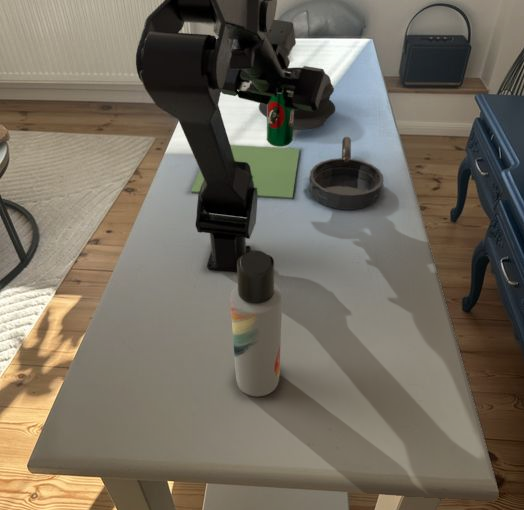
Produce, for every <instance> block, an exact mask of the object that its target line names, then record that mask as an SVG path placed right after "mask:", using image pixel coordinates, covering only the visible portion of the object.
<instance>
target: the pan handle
mask: <svg viewBox="0 0 524 510" xmlns="http://www.w3.org/2000/svg"><path fill="white" fill-rule="evenodd" d="M341 158H343V159H345V160H344V161H343V164H344V165H345V166H347V165H349V163H350V162H349V159H352V140H351V138H350V137H349V136H345V137H343V138H342V143H341Z"/></svg>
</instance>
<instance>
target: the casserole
mask: <svg viewBox="0 0 524 510" xmlns="http://www.w3.org/2000/svg"><path fill="white" fill-rule="evenodd" d="M301 68H302V67H288V69H285V70H284V71H287V72H291V73H292V72H293V71H294V70H300V71H301ZM325 74H326V77H327V82H326V85H325V88H324V91H323V94H322V97H321V100H320V103H319V106H318V109H317V110H315V111H314V112H312V111H307V110H302V109H298V110H297V111H294V125H293V131H309V130H315V129H319V128H321V127H323V126H325V124H326V122H327V120H328V119H329V118H331V116H333V115H334V114H335V112H336V106H335V104H334V102H333V101H332V100H331V96H332V95H333V93H334V92H335V88H334V86H333V84H332V81H331V77H330V76H329V75H328V74H327V73H325ZM258 104H259V105H258V111H259V112H260V113H261V114H262V115H263V116H264V117H265V118H267V105H265V104H261V103H258Z"/></svg>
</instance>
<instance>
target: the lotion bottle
mask: <svg viewBox="0 0 524 510" xmlns="http://www.w3.org/2000/svg"><path fill="white" fill-rule="evenodd" d="M236 273H237V285H236V286H234V288H233V290H232V291H231V293H230V315H231V316H230V317H231V328H232V341H233V354H234V355H233V357H234V368H235V369H234V370H235V380H236V384H237V386H238V388H239V390H240V391H241V392H243V393H244V394H246V395H248V396H252V397H264V396H267V395H270V394H271V393H273V392H274V391H275V390H276V388H277V387H278V384H279V381H280V373H281V372H280V371H281V368H280V367H281V341H282V315H283V313H282V312H283V296H282V291H281V290H280V288H279V287H278V286H277V285H276V284H275V259H274V258H273V257H272V256H271V255H269V254H267V253H266V252H264V251H261V250H251V251H250V252H247V253H245V254H244V255H243V256H241V257H239V258H238V260H237V271H236Z"/></svg>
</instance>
